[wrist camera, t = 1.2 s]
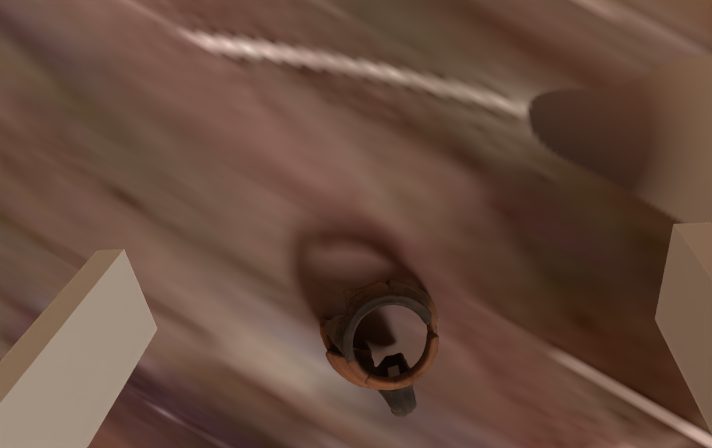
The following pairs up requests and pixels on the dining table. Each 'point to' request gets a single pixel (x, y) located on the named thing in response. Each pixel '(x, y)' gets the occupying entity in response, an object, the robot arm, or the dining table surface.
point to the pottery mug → (358, 364)
